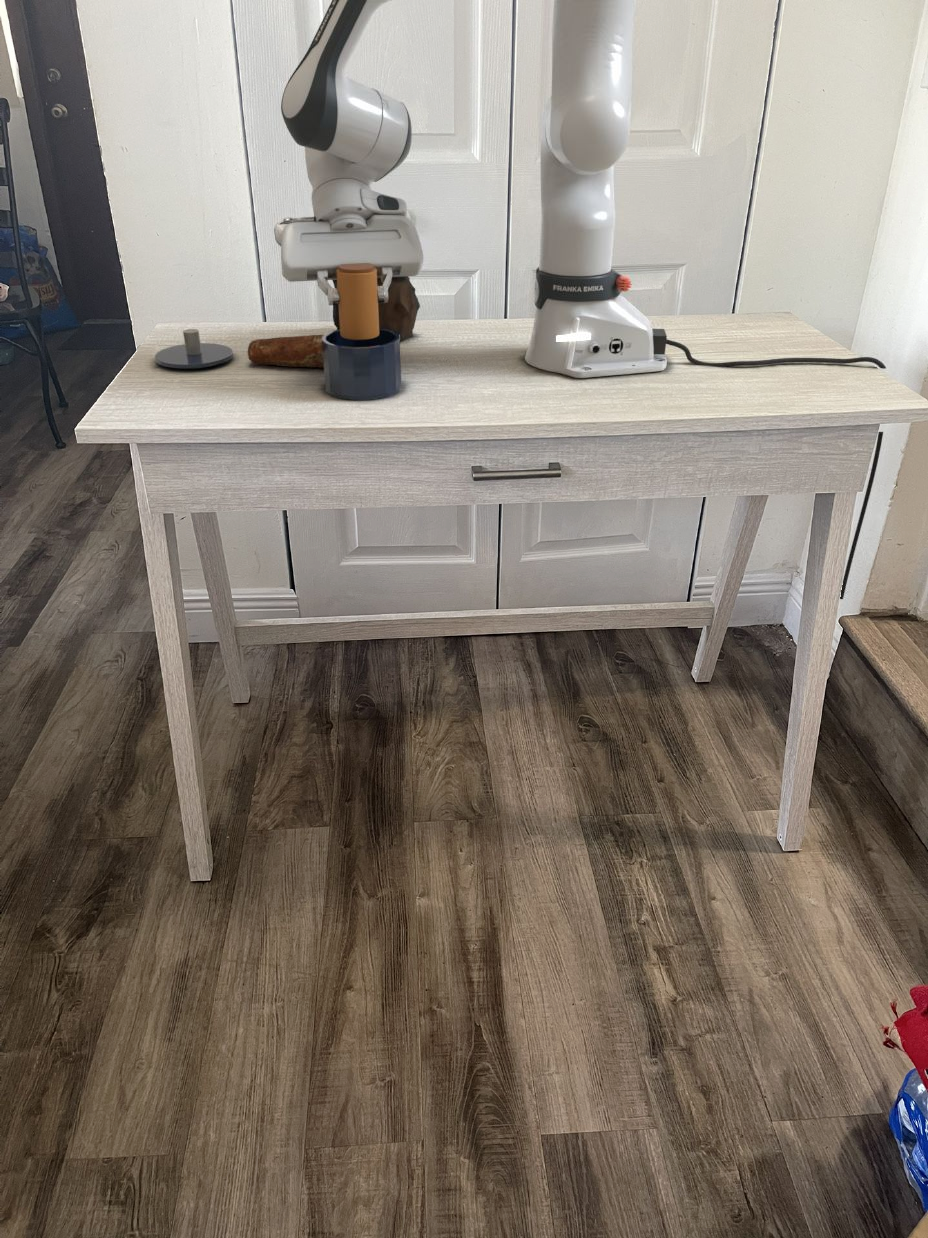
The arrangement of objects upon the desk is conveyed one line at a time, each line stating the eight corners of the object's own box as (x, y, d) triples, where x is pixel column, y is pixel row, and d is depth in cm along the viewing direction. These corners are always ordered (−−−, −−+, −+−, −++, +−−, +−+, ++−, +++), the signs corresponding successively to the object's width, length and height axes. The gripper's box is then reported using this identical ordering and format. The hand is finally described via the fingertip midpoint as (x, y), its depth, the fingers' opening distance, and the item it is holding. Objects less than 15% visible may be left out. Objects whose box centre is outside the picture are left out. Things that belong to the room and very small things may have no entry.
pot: (400, 375, 146) (398, 326, 142) (402, 399, 136) (400, 347, 132) (327, 377, 145) (323, 327, 141) (324, 401, 135) (320, 348, 131)
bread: (361, 374, 146) (359, 338, 143) (244, 368, 148) (239, 332, 146) (371, 362, 151) (369, 327, 148) (258, 356, 154) (254, 322, 151)
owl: (423, 335, 165) (420, 212, 154) (380, 353, 156) (375, 223, 145) (364, 325, 170) (358, 206, 160) (320, 342, 161) (310, 216, 151)
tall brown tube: (379, 329, 139) (376, 261, 134) (379, 339, 134) (376, 269, 129) (340, 329, 138) (336, 261, 133) (339, 340, 134) (335, 270, 129)
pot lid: (238, 349, 158) (234, 319, 155) (228, 371, 147) (224, 340, 145) (163, 350, 157) (158, 321, 154) (149, 373, 146) (143, 342, 144)
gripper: (271, 204, 131) (284, 292, 128) (416, 199, 135) (431, 285, 132) (272, 232, 137) (285, 318, 134) (410, 227, 141) (425, 310, 138)
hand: (359, 301), depth 133 cm, fingers closed on tall brown tube, 5 cm apart
